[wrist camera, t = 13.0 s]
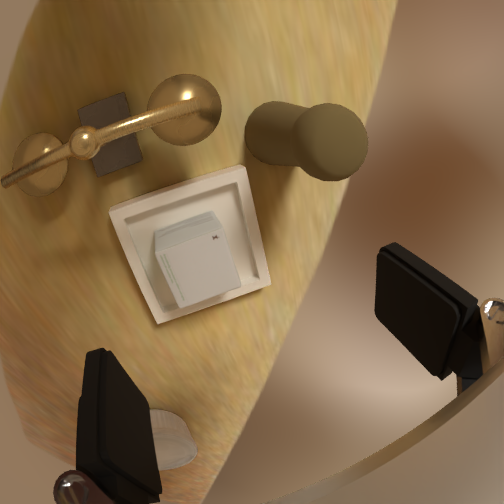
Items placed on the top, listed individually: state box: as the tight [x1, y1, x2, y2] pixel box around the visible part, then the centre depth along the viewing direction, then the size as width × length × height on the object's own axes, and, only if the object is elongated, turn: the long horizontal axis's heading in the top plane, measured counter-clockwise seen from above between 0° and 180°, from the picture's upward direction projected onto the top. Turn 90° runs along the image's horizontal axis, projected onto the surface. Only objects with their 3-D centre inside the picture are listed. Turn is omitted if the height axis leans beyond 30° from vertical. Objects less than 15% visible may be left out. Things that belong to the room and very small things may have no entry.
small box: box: [154, 210, 241, 308], centre depth 26 cm, size 6×6×5 cm
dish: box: [109, 164, 271, 324], centre depth 28 cm, size 12×12×2 cm
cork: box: [245, 101, 368, 181], centre depth 22 cm, size 6×6×11 cm
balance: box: [1, 74, 222, 197], centre depth 17 cm, size 6×17×12 cm, turn 103°
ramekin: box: [150, 409, 198, 470], centre depth 35 cm, size 11×11×5 cm
